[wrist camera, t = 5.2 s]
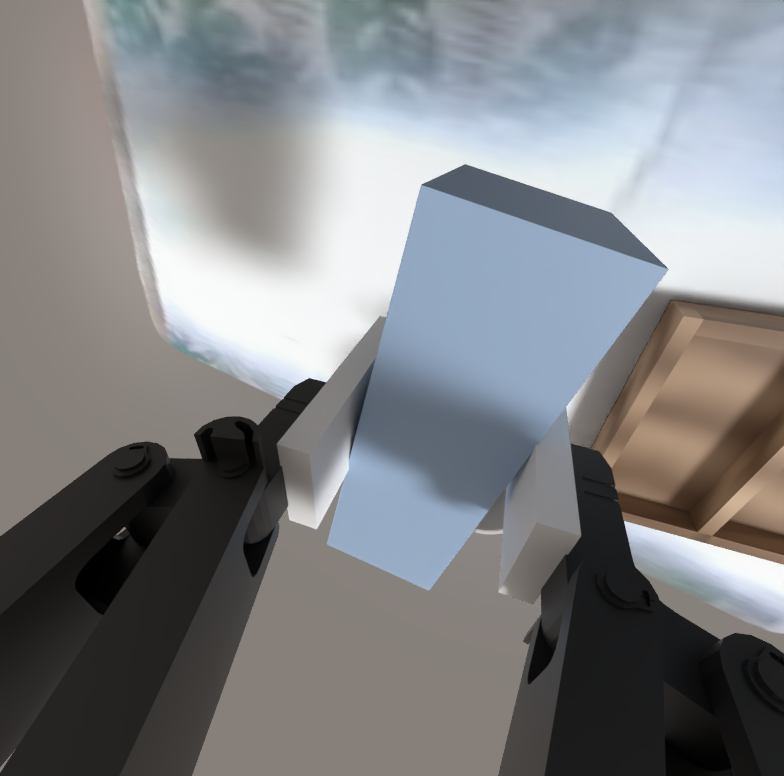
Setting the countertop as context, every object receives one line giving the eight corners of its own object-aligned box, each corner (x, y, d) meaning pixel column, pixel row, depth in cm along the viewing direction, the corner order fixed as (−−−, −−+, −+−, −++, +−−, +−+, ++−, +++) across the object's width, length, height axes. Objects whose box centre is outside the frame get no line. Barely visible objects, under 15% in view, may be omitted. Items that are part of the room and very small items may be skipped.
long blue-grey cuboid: (465, 164, 10) (421, 184, 6) (611, 213, 9) (668, 269, 5) (373, 450, 17) (326, 544, 13) (452, 484, 17) (428, 590, 13)
